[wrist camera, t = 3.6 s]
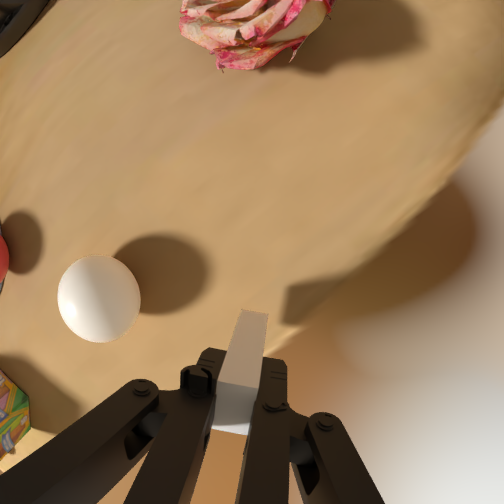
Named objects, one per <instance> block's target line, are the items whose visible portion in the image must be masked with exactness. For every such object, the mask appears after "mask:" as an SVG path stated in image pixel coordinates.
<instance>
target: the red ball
mask: <svg viewBox="0 0 504 504" xmlns="http://www.w3.org/2000/svg"><path fill="white" fill-rule="evenodd" d="M8 267H9V251H8V247H7V245H6V242H5V241H4V239H3V237H2V236H1V235H0V283H1V282H2V281H3V279H4V278H5V276H6V273H7V271H8Z"/></svg>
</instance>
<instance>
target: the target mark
mask: <svg viewBox="0 0 504 504" xmlns="http://www.w3.org/2000/svg"><path fill="white" fill-rule="evenodd" d="M0 235H1V236H2V232H1V226H0ZM2 285H3V281H2V282H1V283H0V292H1V289H2Z"/></svg>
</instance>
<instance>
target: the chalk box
mask: <svg viewBox="0 0 504 504" xmlns="http://www.w3.org/2000/svg"><path fill="white" fill-rule="evenodd" d="M28 398H29V397H28V396H27V395H26V394H24V393H23V392H22V391H21V390H20V389H19V388H18V387H17V386H16V385H15V384H14V383H13V382H12V381H11V380H10V379H9V378H8V377H7V376H6V375H5V374H4V373H3V372H2V371H1V370H0V461H1V460H2V459H3V457H4V456H5V455H6V454H7V453H8V452H9V451H10V450H11V449H12V448H13V447H14V446H15V445H16V444H17V443H18V442H19V441H20V439H21V438H22V437H23V436H24V435H25V434H26V433H27V432H28V431H29V430H30V429H31V428H30V417H29V401H28V400H29V399H28Z"/></svg>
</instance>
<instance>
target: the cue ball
mask: <svg viewBox="0 0 504 504" xmlns="http://www.w3.org/2000/svg"><path fill="white" fill-rule="evenodd" d="M140 303H141V298H140V290H139V286H138V284H137V281H136V279H135V277H134V275H133V274H132V272H131V271H130V270H129V269H128V268H127V267H126V266H125V265H124V264H123V263H122V262H120V261H119V260H117V259H115V258H113V257H110V256H107V255H100V254H96V255H88V256H85V257H82V258H80V259H78V260H77V261H75V262H74V263H73V264H72V265H70V266H69V267H68V269H67V270H66V271H65V273H64V274H63V276H62V279H61V281H60V284H59V288H58V306H59V310H60V313H61V315H62V317H63V319H64V321H65V323H66V324H67V326H68V327H69V328H70V329H71V330H72V331H73V332H74V333H75V334H77V335H78V336H80V337H81V338H83V339H85V340H88V341H91V342H97V343H104V342H110V341H114V340H116V339H118V338H120V337H122V336H123V335H124V334H126V333H127V332H128V331H129V330H130V329H131V327H132V326H133V325H134V323H135V321H136V319H137V317H138V314H139V310H140Z"/></svg>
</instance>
